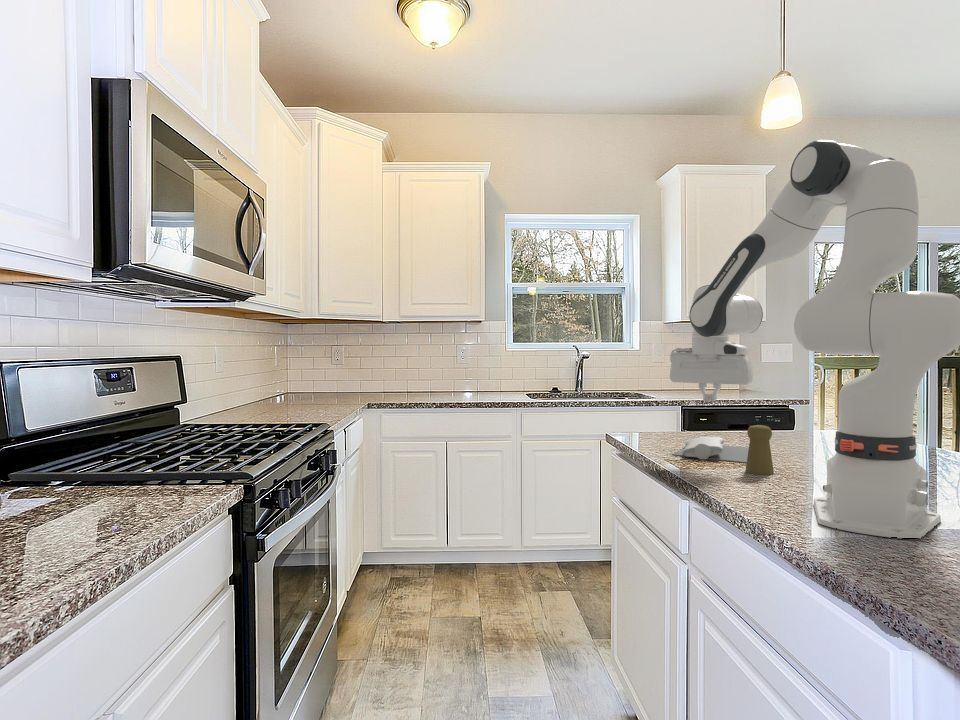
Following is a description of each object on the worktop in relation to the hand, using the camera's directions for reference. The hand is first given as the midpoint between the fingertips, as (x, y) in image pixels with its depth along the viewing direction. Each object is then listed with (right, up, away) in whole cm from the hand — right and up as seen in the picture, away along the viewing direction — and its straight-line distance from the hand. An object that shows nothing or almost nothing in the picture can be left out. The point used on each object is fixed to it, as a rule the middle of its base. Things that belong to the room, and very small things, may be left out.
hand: (709, 401), depth 155 cm
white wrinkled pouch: (-2, -13, 0) cm, 13 cm away
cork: (+6, -16, -15) cm, 23 cm away
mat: (+7, -15, +9) cm, 19 cm away
